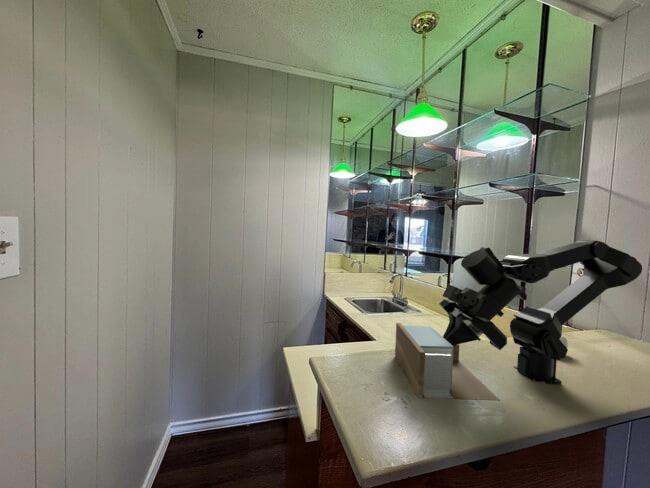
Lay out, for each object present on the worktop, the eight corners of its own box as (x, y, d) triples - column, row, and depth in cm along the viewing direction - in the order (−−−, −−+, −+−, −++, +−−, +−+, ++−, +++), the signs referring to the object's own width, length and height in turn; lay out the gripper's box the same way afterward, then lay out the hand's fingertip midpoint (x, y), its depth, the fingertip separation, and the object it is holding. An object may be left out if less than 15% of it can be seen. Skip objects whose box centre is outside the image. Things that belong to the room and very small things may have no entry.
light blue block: (428, 361, 66) (430, 326, 66) (451, 389, 54) (453, 346, 54) (400, 360, 66) (402, 325, 66) (417, 388, 54) (419, 345, 54)
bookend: (447, 392, 53) (449, 353, 53) (452, 398, 51) (454, 358, 51) (420, 391, 53) (422, 352, 53) (424, 397, 51) (426, 357, 51)
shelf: (456, 360, 68) (458, 324, 68) (500, 403, 51) (502, 354, 51) (394, 359, 68) (396, 322, 68) (417, 400, 51) (420, 352, 51)
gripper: (448, 267, 69) (404, 309, 69) (494, 280, 50) (434, 337, 50) (477, 298, 69) (433, 339, 69) (533, 322, 50) (473, 377, 51)
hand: (441, 346), depth 60 cm, fingers closed, pressing on light blue block
